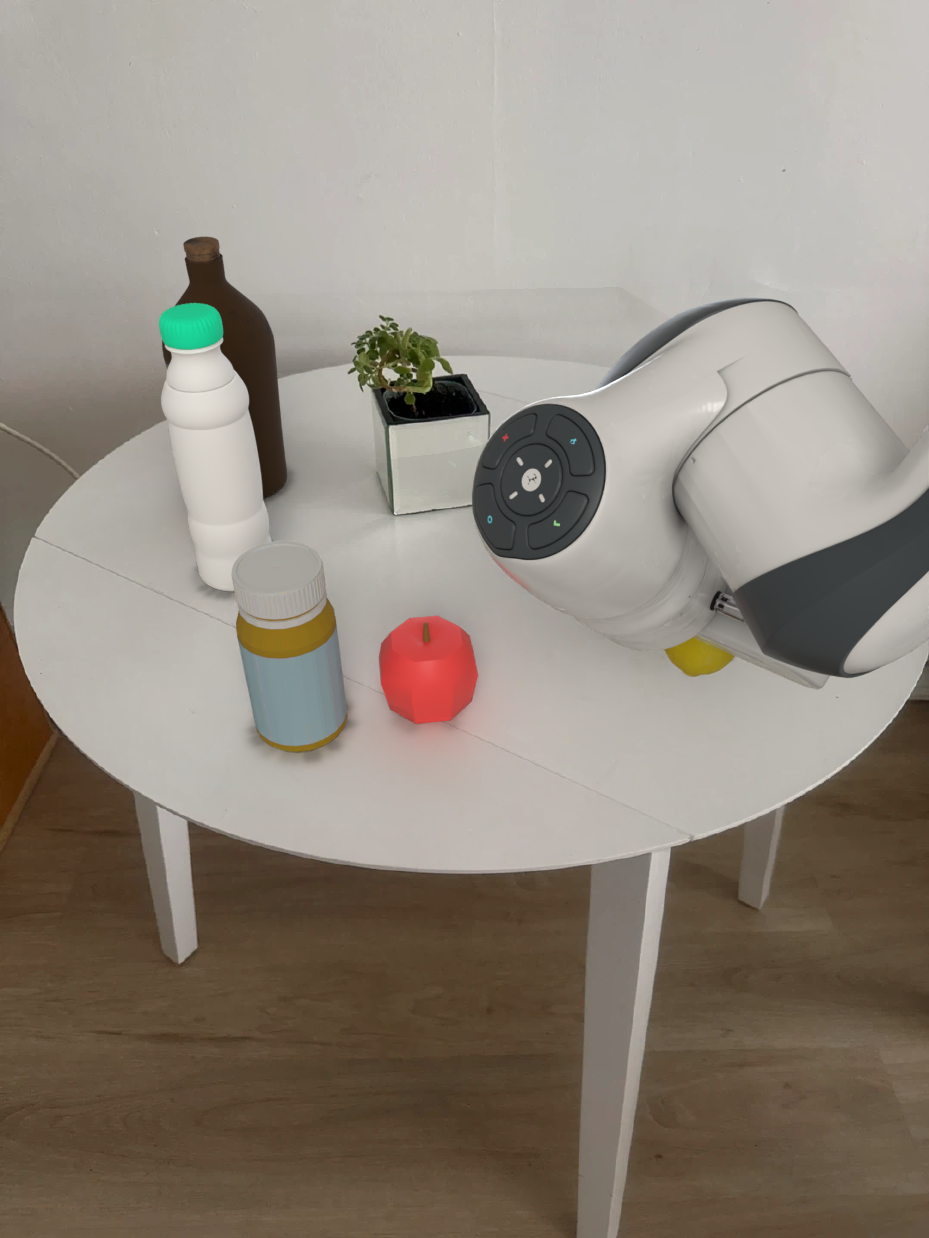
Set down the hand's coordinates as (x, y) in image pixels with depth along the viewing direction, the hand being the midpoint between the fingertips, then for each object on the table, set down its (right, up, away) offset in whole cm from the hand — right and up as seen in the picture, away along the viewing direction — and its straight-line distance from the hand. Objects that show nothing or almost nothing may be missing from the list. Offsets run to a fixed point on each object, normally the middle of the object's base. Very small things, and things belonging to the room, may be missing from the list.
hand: (706, 620), depth 69 cm
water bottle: (-38, +4, +24) cm, 45 cm away
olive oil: (-40, +14, +37) cm, 57 cm away
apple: (-19, -7, +10) cm, 23 cm away
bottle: (-29, -8, +8) cm, 31 cm away
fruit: (0, -4, +2) cm, 5 cm away
